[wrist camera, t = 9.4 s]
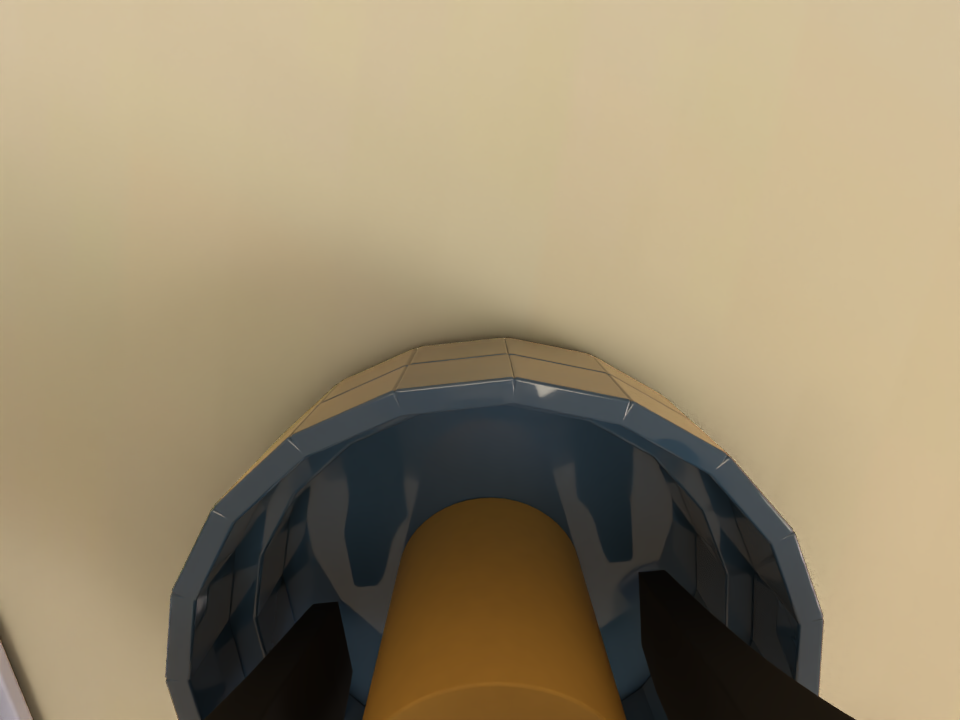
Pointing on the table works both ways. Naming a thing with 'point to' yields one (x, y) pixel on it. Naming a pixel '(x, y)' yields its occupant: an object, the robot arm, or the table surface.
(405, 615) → the candle
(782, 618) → the bowl
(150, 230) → the table surface
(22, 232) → the table surface
